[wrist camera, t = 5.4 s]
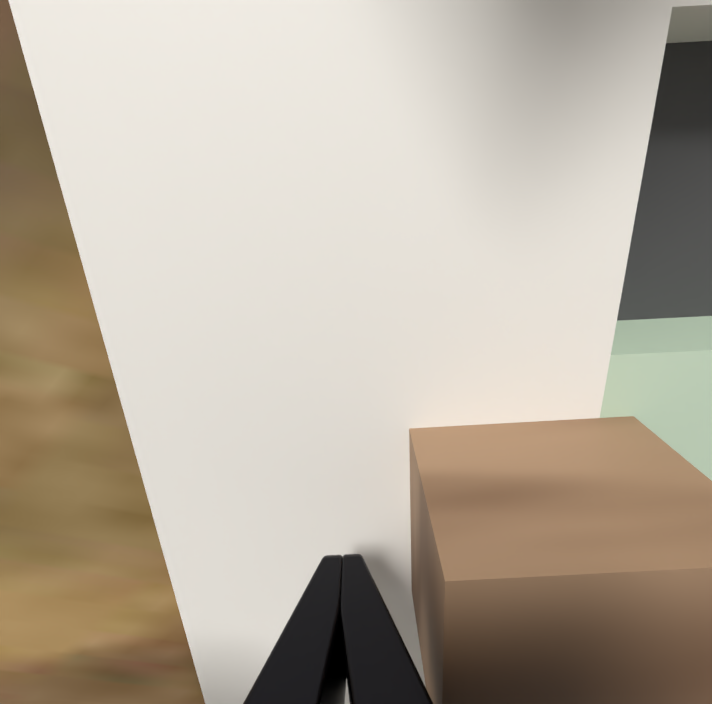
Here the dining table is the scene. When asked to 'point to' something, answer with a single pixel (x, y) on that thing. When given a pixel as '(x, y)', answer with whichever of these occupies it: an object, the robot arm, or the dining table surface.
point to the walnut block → (560, 564)
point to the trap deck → (371, 258)
